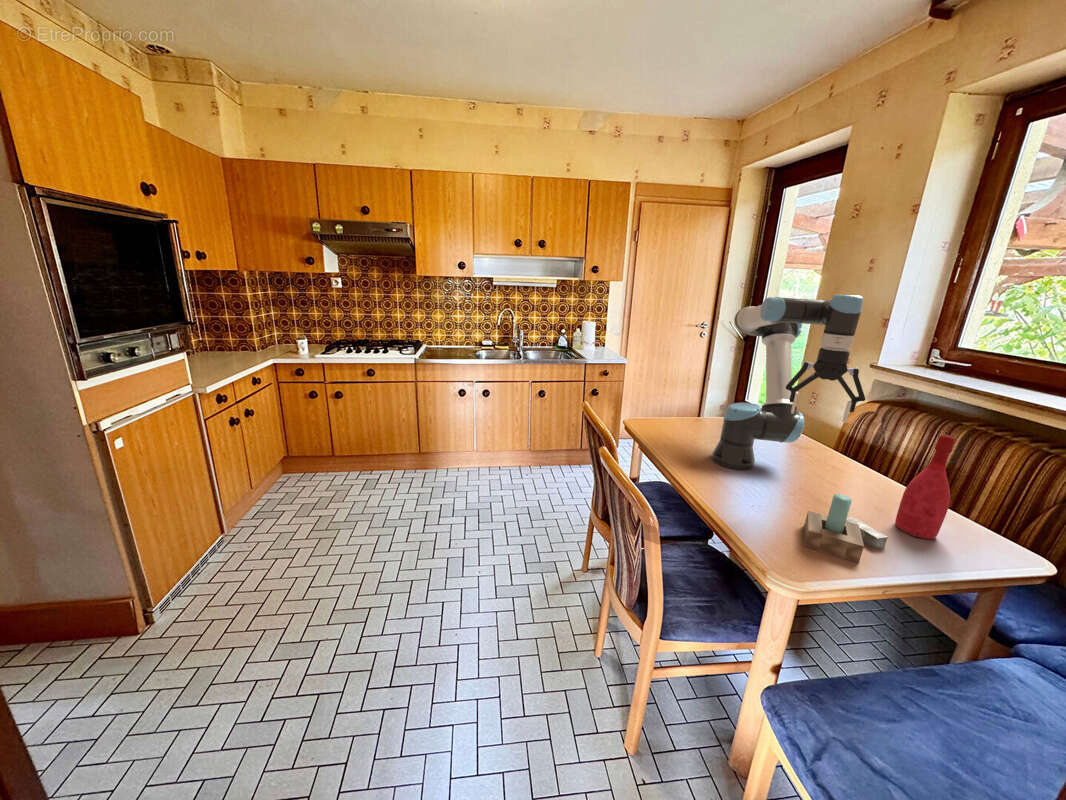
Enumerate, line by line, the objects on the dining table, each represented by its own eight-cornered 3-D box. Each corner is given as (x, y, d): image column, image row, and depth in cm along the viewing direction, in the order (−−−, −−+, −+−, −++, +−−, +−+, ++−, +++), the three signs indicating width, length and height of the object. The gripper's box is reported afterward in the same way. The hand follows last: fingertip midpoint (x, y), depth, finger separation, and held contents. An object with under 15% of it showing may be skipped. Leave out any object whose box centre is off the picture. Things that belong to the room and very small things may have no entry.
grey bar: (840, 528, 124) (843, 518, 123) (849, 527, 125) (852, 516, 124) (874, 549, 115) (877, 538, 114) (884, 548, 116) (887, 536, 115)
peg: (821, 544, 116) (834, 498, 112) (820, 537, 119) (833, 492, 115) (839, 549, 114) (852, 503, 110) (838, 542, 117) (851, 497, 113)
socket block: (804, 546, 115) (808, 530, 113) (804, 525, 125) (808, 510, 123) (858, 563, 109) (864, 546, 107) (854, 540, 119) (858, 524, 117)
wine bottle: (884, 521, 129) (914, 428, 121) (914, 521, 130) (946, 429, 121) (915, 541, 120) (950, 442, 111) (946, 540, 121) (983, 442, 112)
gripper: (786, 344, 128) (771, 411, 134) (890, 356, 116) (869, 429, 122) (786, 342, 134) (772, 406, 141) (886, 352, 122) (866, 422, 128)
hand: (817, 417), depth 131 cm, fingers open, 13 cm apart
